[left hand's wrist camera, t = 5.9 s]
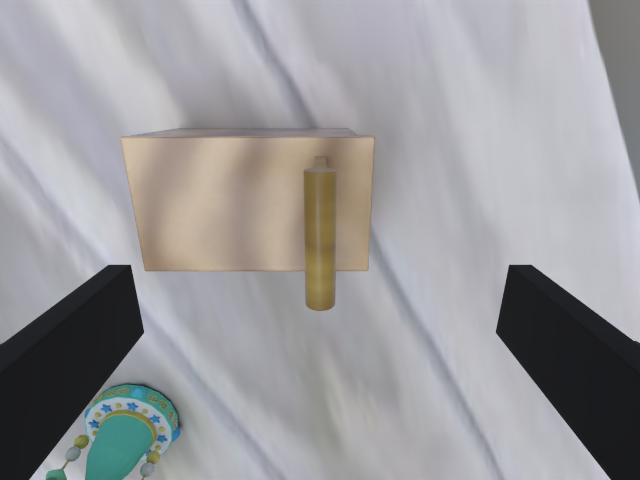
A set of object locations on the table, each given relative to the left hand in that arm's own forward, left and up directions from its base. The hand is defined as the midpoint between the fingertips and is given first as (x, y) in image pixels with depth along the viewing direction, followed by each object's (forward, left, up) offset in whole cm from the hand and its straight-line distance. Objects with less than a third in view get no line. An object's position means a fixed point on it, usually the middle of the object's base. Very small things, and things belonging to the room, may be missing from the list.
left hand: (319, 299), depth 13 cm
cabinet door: (-4, +3, -13) cm, 14 cm away
